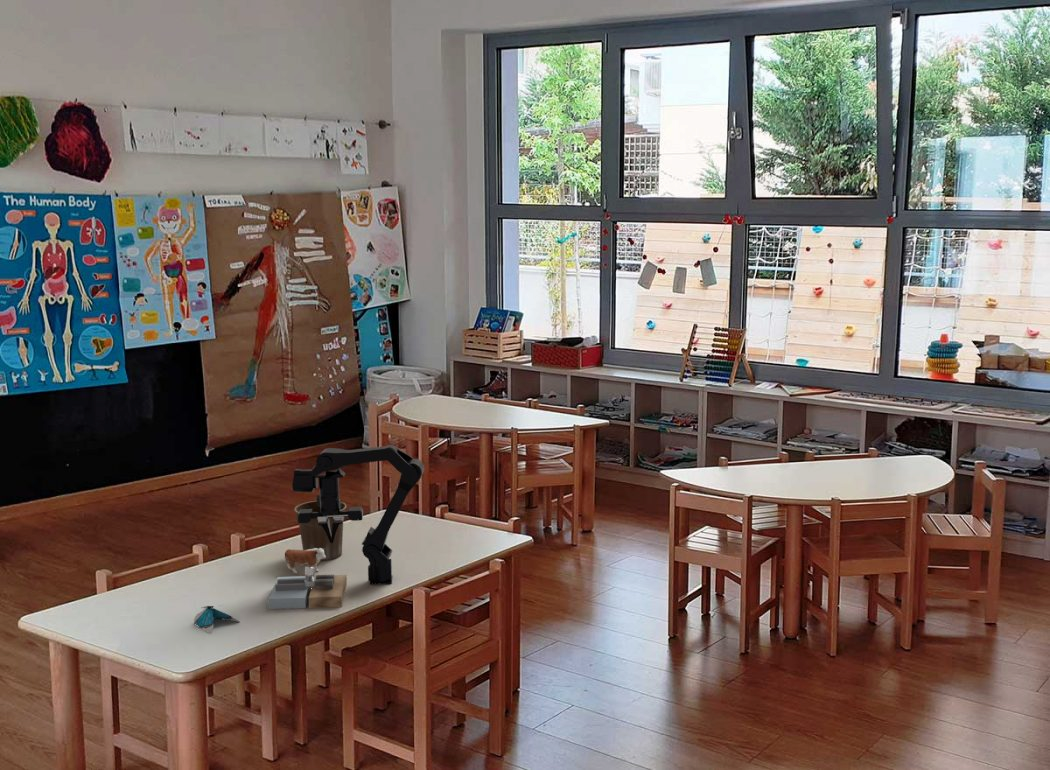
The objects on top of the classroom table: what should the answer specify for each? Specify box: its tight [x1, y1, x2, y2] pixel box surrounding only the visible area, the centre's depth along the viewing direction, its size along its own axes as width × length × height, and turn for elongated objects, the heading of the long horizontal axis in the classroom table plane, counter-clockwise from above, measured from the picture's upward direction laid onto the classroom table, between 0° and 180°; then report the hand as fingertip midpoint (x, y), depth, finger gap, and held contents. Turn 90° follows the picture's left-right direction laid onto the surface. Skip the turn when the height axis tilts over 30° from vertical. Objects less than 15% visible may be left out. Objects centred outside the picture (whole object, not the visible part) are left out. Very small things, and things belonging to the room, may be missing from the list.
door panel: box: [267, 575, 312, 610], centre depth 309 cm, size 10×18×5 cm, turn 5°
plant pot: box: [293, 500, 347, 562], centre depth 345 cm, size 16×16×16 cm
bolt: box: [304, 565, 333, 587], centre depth 309 cm, size 8×2×6 cm, turn 95°
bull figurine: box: [284, 548, 326, 574], centre depth 330 cm, size 4×13×8 cm, turn 79°
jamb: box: [308, 574, 348, 609], centre depth 310 cm, size 9×18×5 cm, turn 5°
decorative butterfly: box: [193, 605, 241, 635], centre depth 290 cm, size 10×6×10 cm
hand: (331, 542), depth 321 cm, fingers closed
